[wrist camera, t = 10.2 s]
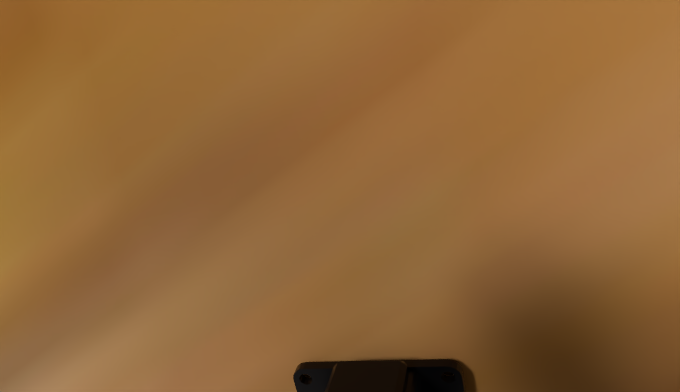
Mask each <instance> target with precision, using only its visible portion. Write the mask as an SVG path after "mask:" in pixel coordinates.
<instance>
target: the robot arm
mask: <svg viewBox="0 0 680 392" xmlns="http://www.w3.org/2000/svg"><path fill="white" fill-rule="evenodd" d="M444 372H451V373H452V374H454V375H452V376H447V375H445V374H444ZM303 374H307V375H309V376H310V377H311V378H308V377H305V376H304V375H303ZM293 376H294V383H295V386H296V390H297V392H466V389H465V383H464V376H463V370H462V368H461V366H460V365H459V364H458V363H457V362H455V361H453V360H448V359H438V360H386V361H340V362H305V363H301V364H299V365H298V366H297V369H296V371H295V373H294V375H293Z"/></svg>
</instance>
